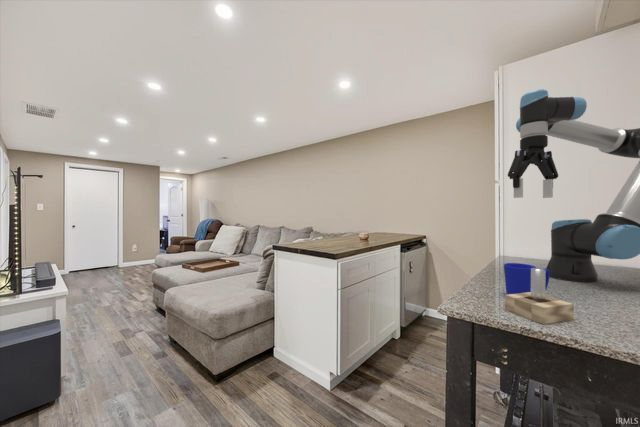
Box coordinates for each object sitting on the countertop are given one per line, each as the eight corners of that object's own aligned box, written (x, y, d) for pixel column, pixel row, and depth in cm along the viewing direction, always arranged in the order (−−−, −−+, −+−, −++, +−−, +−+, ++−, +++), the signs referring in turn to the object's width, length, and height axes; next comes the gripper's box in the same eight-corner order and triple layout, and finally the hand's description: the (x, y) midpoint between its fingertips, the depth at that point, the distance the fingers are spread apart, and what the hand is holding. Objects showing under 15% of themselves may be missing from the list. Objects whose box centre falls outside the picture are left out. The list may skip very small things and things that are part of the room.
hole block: (532, 305, 75) (532, 291, 75) (573, 319, 66) (573, 303, 66) (504, 309, 73) (504, 294, 73) (543, 324, 63) (543, 307, 63)
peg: (535, 311, 71) (536, 267, 71) (547, 315, 68) (548, 270, 68) (527, 312, 70) (528, 268, 70) (539, 317, 68) (539, 270, 67)
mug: (557, 303, 77) (557, 269, 77) (511, 300, 80) (511, 268, 79) (540, 294, 85) (540, 263, 85) (498, 292, 88) (499, 262, 87)
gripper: (548, 141, 98) (548, 198, 99) (495, 137, 92) (495, 198, 93) (572, 136, 91) (571, 197, 92) (516, 131, 85) (516, 197, 85)
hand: (533, 197), depth 92 cm, fingers open, 13 cm apart
